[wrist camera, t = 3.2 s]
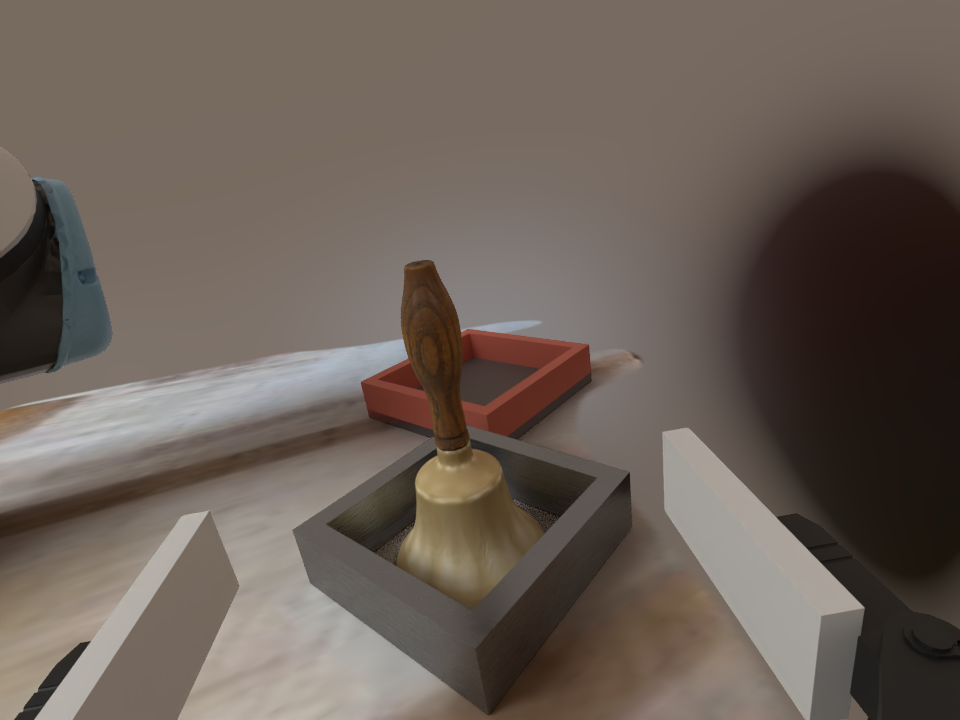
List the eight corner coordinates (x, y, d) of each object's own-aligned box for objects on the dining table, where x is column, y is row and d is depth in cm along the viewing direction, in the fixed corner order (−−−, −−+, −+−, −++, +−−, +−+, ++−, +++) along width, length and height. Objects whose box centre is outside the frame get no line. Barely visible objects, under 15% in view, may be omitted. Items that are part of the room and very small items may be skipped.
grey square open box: (310, 582, 28) (292, 529, 27) (463, 466, 36) (455, 422, 35) (488, 715, 20) (475, 648, 19) (632, 526, 28) (629, 472, 27)
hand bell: (583, 552, 27) (555, 244, 21) (455, 652, 23) (376, 299, 17) (484, 489, 34) (442, 239, 28) (369, 558, 29) (291, 277, 23)
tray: (369, 417, 46) (360, 382, 44) (473, 359, 55) (468, 329, 54) (493, 458, 37) (486, 415, 36) (591, 380, 46) (588, 344, 45)
